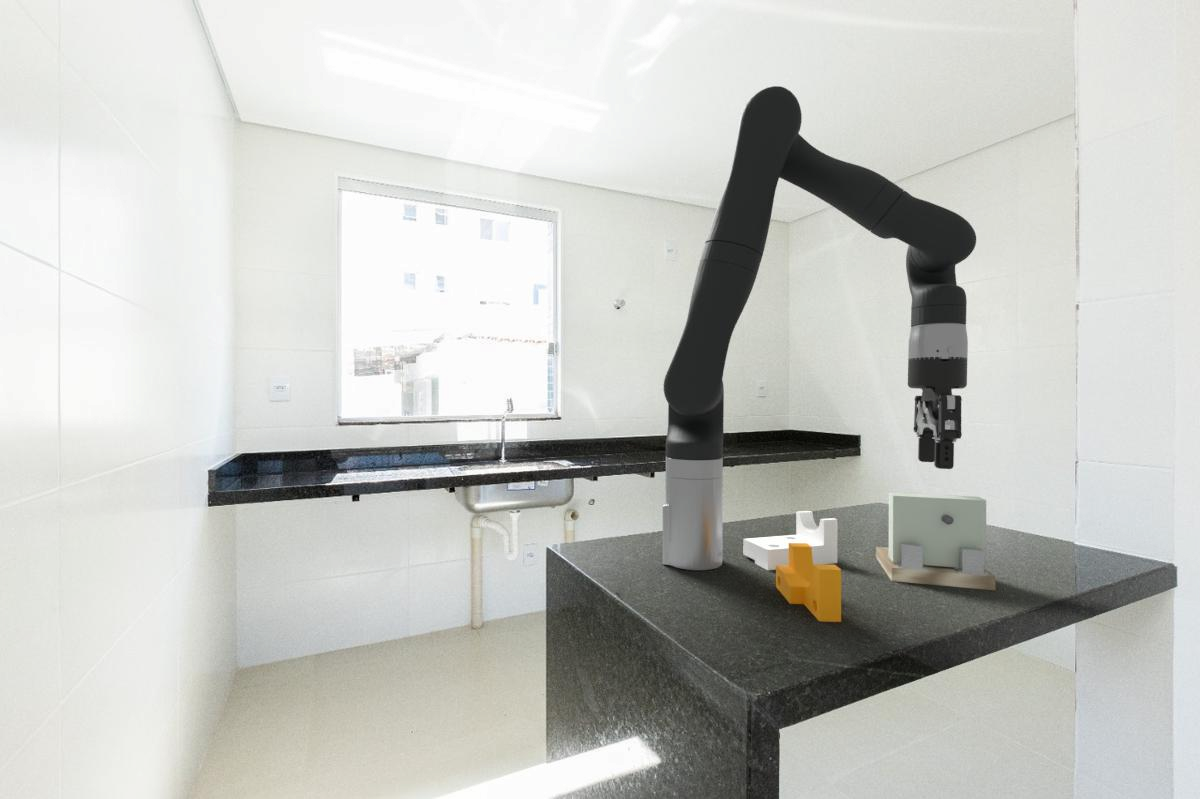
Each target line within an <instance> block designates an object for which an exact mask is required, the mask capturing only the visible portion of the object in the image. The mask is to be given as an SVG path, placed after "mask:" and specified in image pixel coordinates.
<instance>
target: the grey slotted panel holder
mask: <svg viewBox="0 0 1200 799" xmlns="http://www.w3.org/2000/svg"><path fill="white" fill-rule="evenodd" d="M895 564H896V566H897V567H898V568H900V569H912V570H924V571H926V568H925V567H924V566H923V546H922V545H921V544H912V543H901V559H900V563H895ZM952 568H953V569H954V570H955V571H956V572H957V573H959V574H971V575H983V576H988V573H986V572H985V571H984V550H982V549H981V548H967V547H960V568H956V567H952Z"/></svg>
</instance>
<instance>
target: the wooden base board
mask: <svg viewBox="0 0 1200 799" xmlns="http://www.w3.org/2000/svg"><path fill="white" fill-rule="evenodd" d="M875 558H876V559H877V561H878V562H879V565H880V566H881V567H882V569H883V570H884V572H885V573H886V574H887V576H888V578H889V579H890V581H891V582H900V583H908V584H909V583H911V584H921V585H922V584H923V585H931V586H932V585H933V586H944V587H955V588H967V589H977V590H987V591H988V590H989V591H996V576H995V575H994V574H993V573H991V572H990V571H989V570H988V569H986V570H984V571H985V572H986V573H988V576H983V575H971V574H959V573H957V572H956V571H955V570H954V569H953V568H952V567H944V566H931V565H923V566H924V567H925V568H926V571H924V570H912V569H900V568H898V567H897V566H896V564H895V563H894V562H892V561H891V559H890V558H889V547H885V546H875Z"/></svg>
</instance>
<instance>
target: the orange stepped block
mask: <svg viewBox="0 0 1200 799" xmlns="http://www.w3.org/2000/svg"><path fill="white" fill-rule="evenodd" d="M775 587H776V588H777V590H778V591H779V592H780V593H781V595H782V596H783V597H784V598H785V600H786V601H787V602H788V603H789V604H790V605H804V606H805V607H806V609H808V611H809V612H810V613H811V614H812V615H813V616H814V617H815V619H816V620H817V621H819V622H824V623H825V622H826V623H827V622H829V623H830V622H831V623H837V622H839V623H841V622H842V569H841V568H840V567H839V566H837V565H836V564H823V565H819V564H814V565H813V559H812V547H811V546H810V545H809V544H807V543H789V558H788V566H785V565H776V570H775Z"/></svg>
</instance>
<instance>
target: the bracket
mask: <svg viewBox="0 0 1200 799" xmlns="http://www.w3.org/2000/svg"><path fill="white" fill-rule="evenodd" d="M795 516H796V517H795V520H796V521H795V522H796V523H795V524H796V525H795V526H796V527H795V528H796V529H795V530H796V531H795V534H788V535H775V536H764V537H762V536H761V537H748V538H743V539H742V540H743V544H742V546H743V549H742V550H743V551H742V552H743V553H742V554H743V556H746V557H748V558H750V559H751V560H753V561H754V564H755V565H756V566H759V567H760V568H762V569H765V570H766V571H776V565H785V566H788V558H789V543H807V544H809V545H810V546H811V547H812V559H813V565H814V564H819V565H833V564H838V519H837V518H834V517H829V518H820V519H819V524H818V525H817V524H816V522H815V519H814V515H813V511H810V510H803V511H802V510H801V511H800V510H798V511H796V513H795Z"/></svg>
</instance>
